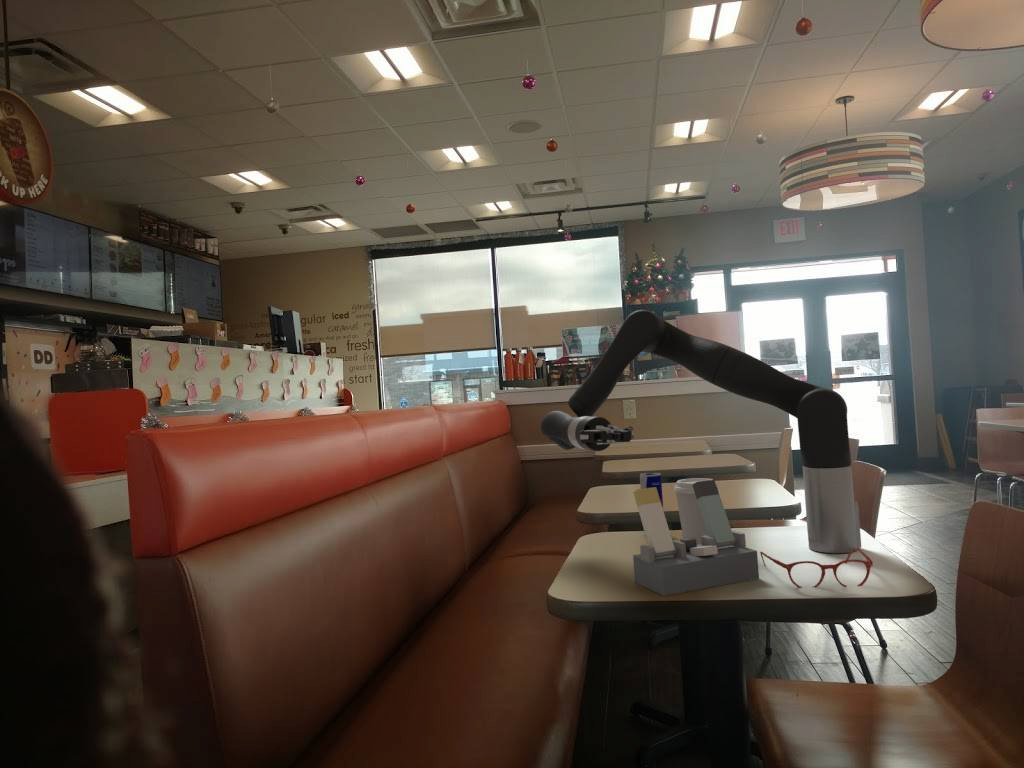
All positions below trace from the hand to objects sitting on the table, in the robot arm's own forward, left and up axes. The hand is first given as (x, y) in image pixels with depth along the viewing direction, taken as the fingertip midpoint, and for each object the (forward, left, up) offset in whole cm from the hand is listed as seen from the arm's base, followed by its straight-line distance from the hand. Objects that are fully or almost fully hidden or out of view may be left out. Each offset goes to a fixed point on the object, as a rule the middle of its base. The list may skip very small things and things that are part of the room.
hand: (627, 436), depth 133 cm
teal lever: (-12, +12, -21) cm, 27 cm away
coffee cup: (-20, -7, -27) cm, 34 cm away
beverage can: (-20, -26, -27) cm, 43 cm away
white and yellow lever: (+1, +12, -21) cm, 24 cm away
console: (-6, +12, -27) cm, 30 cm away
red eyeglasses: (-26, +21, -27) cm, 43 cm away
